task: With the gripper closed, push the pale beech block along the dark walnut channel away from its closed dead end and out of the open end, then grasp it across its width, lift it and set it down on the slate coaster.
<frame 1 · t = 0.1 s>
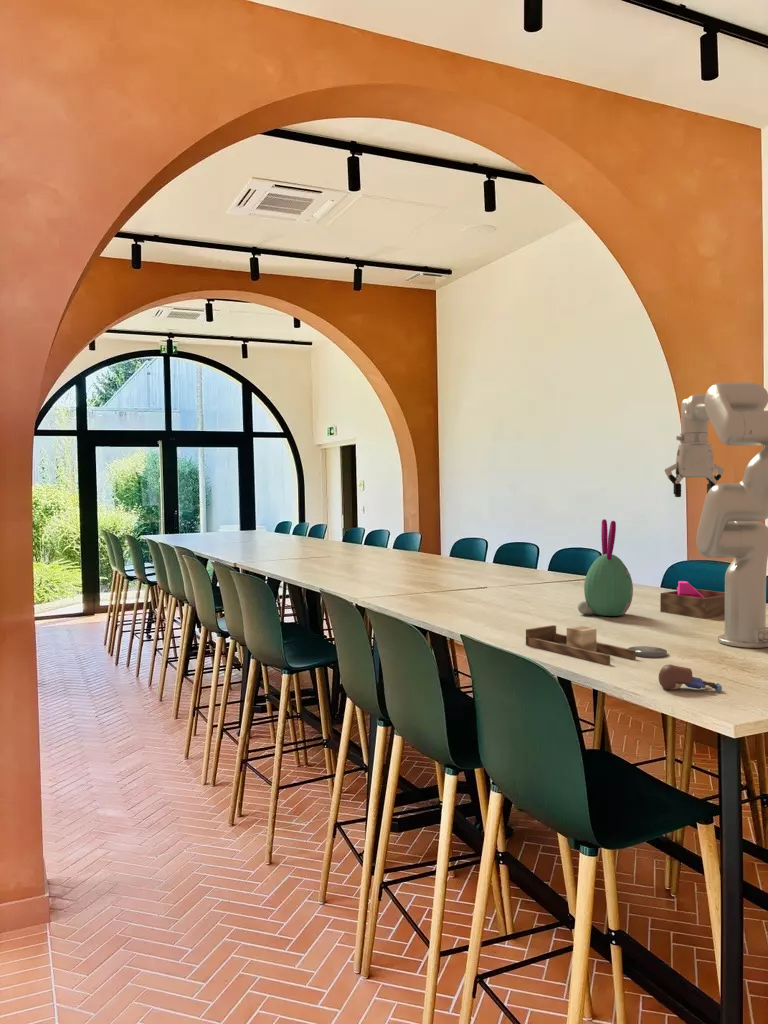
hand: (694, 496, 221), 37 cm above the table, tool pointing down, fingers open, 9 cm apart
toy: (604, 615, 234), on the table
coaster: (647, 653, 179), on the table
channel: (578, 651, 182), on the table
bracket: (698, 614, 237), resting in display box
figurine: (689, 691, 147), on the table
display box: (698, 612, 237), on the table
block: (581, 652, 181), on the table
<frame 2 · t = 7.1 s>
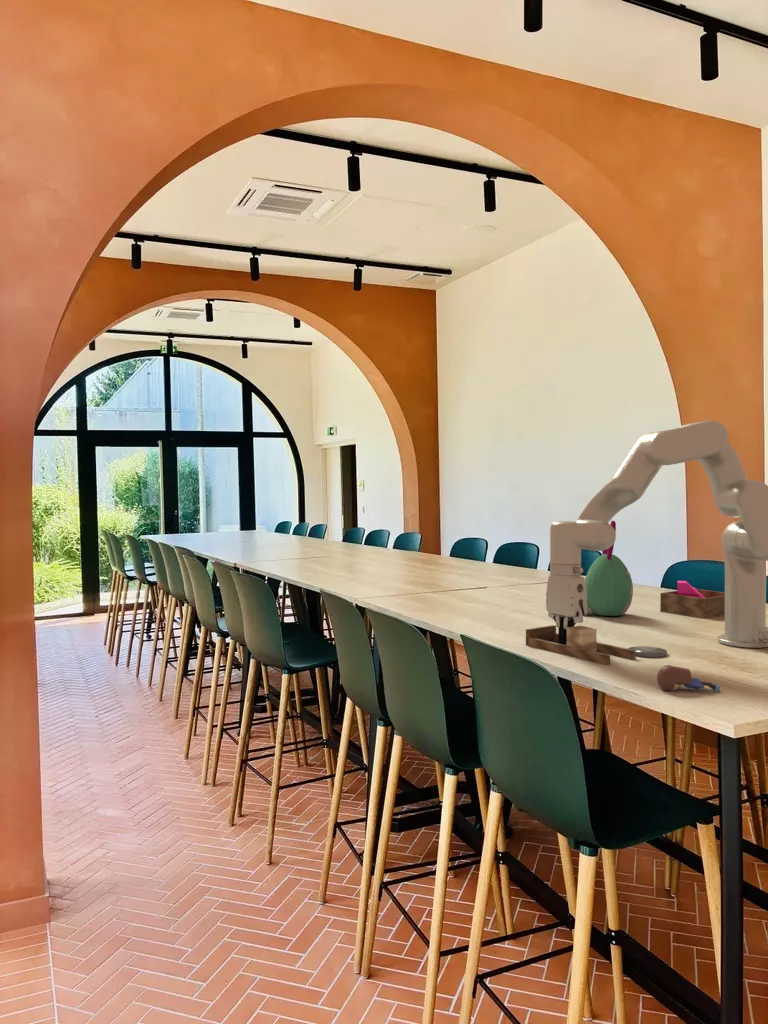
hand: (565, 643, 185), 1 cm above the table, tool pointing down, fingers closed
block: (581, 652, 181), on the table, touching gripper
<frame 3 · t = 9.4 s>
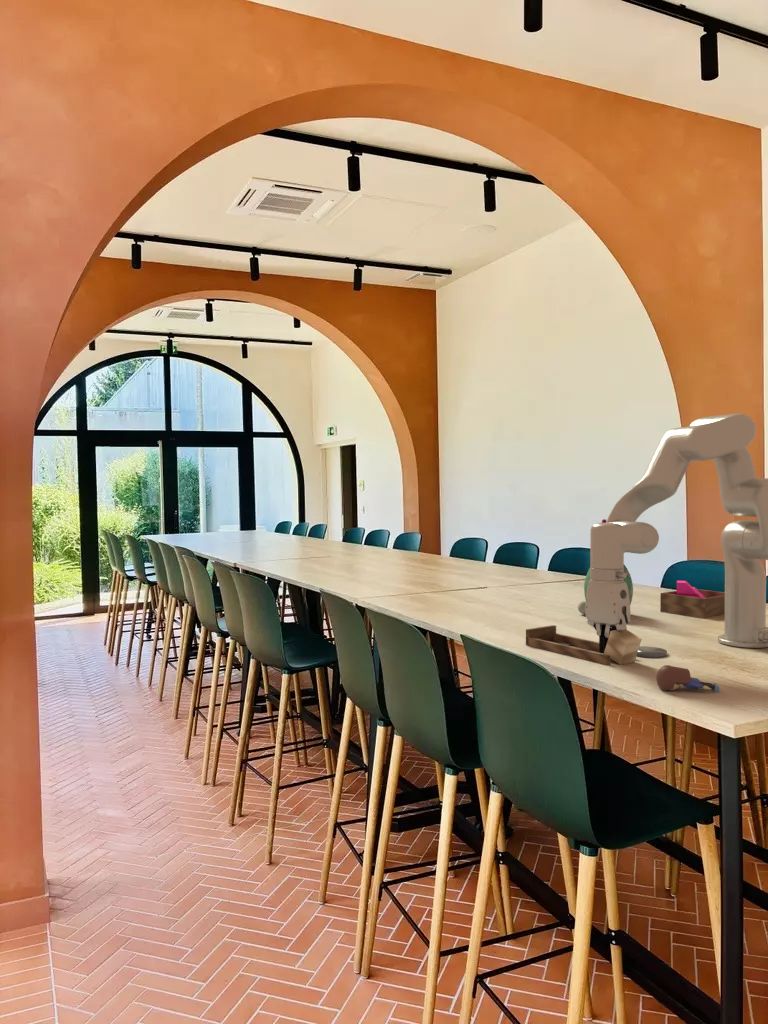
hand: (606, 652, 174), 1 cm above the table, tool pointing down, fingers closed
block: (619, 657, 171), point 1 cm above the table, tilted 19°, touching gripper
everything else where it was.
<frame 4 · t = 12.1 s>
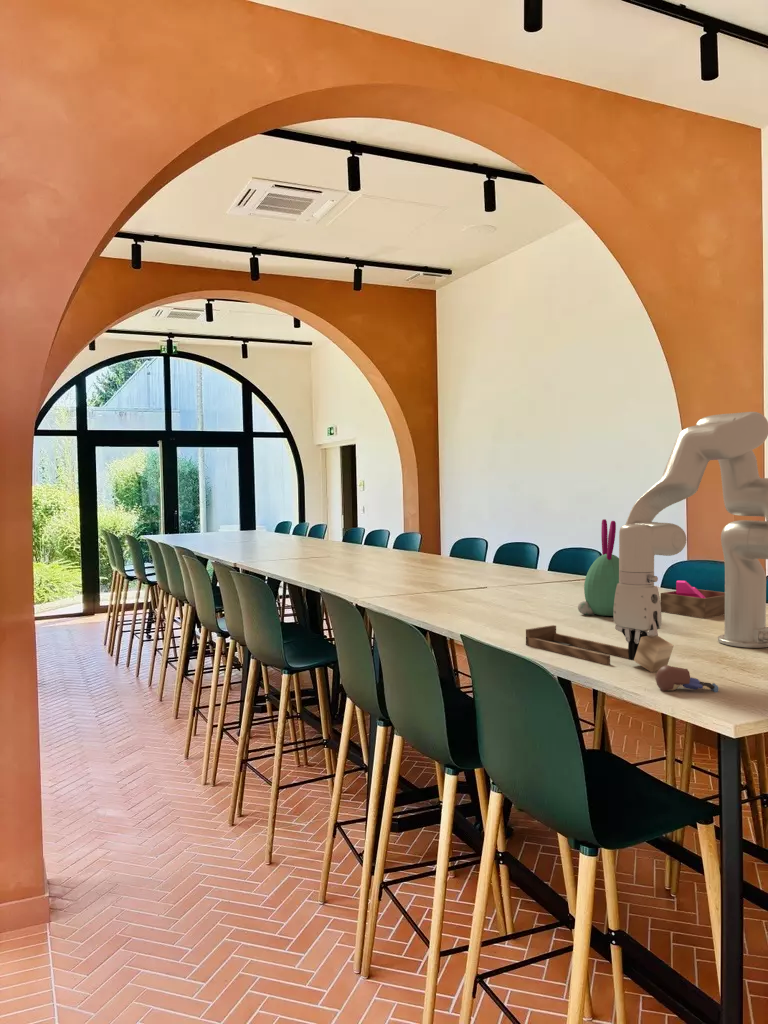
hand: (635, 659, 168), 1 cm above the table, tool pointing down, fingers closed
block: (649, 664, 164), point 1 cm above the table, tilted 19°, touching gripper
everything else where it was.
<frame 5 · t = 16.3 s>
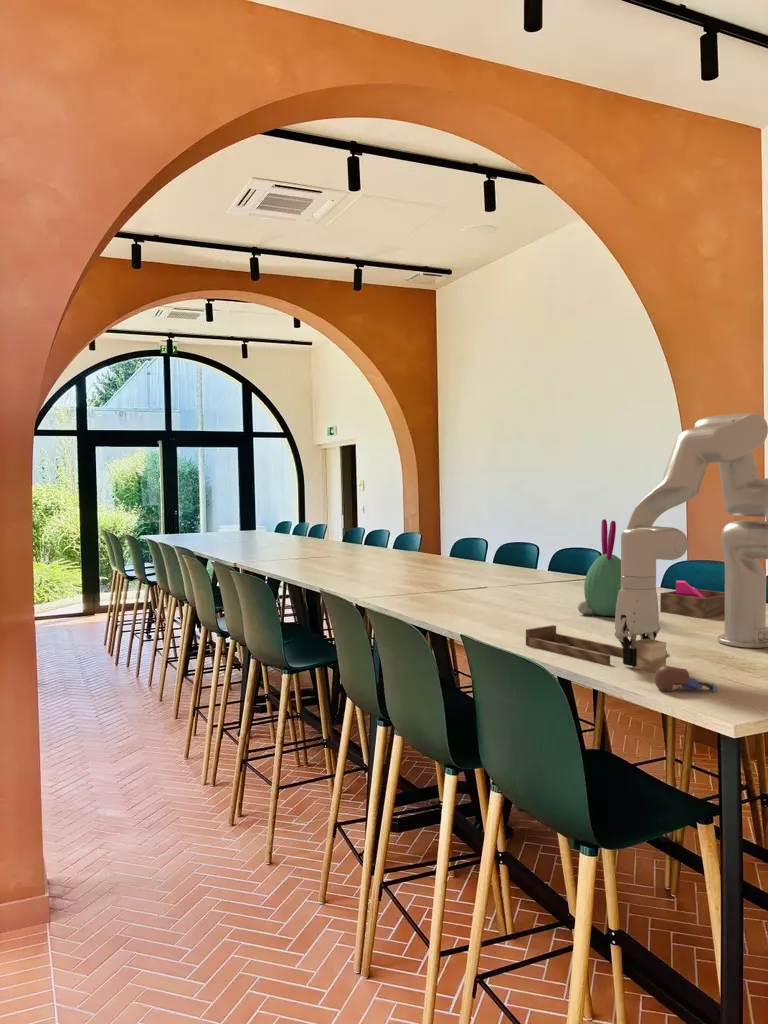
hand: (637, 662, 167), 1 cm above the table, tool pointing down, fingers closed on block, 5 cm apart
block: (649, 668, 165), on the table, touching gripper
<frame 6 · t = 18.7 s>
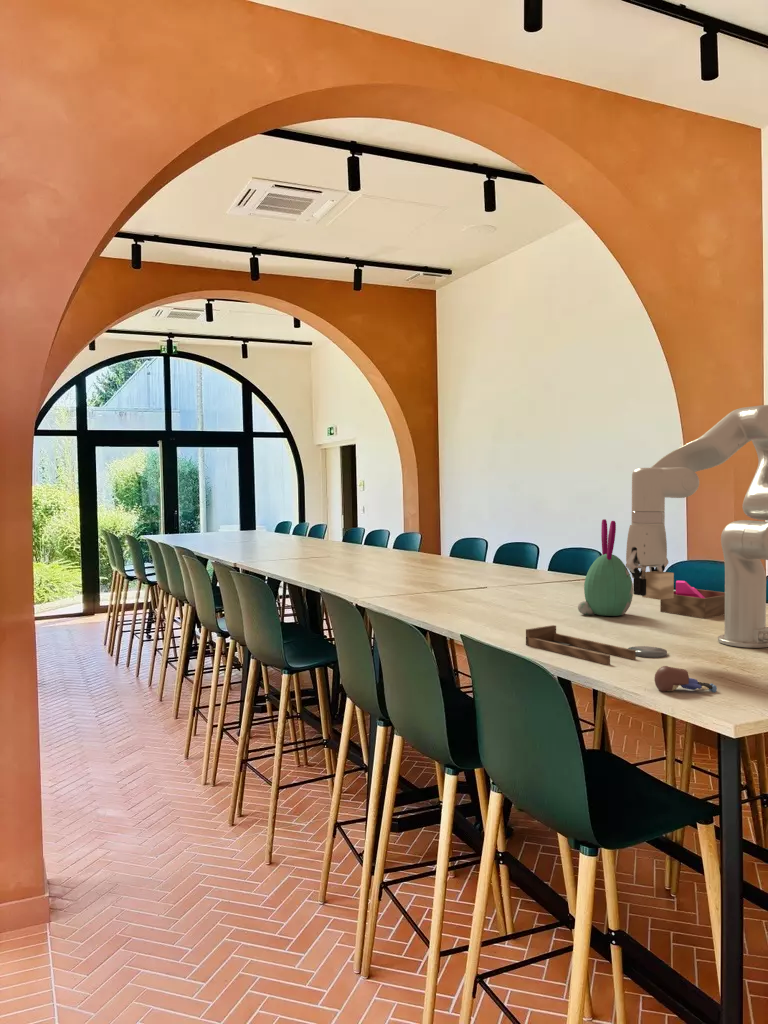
hand: (647, 593, 179), 15 cm above the table, tool pointing down, fingers closed on block, 5 cm apart
block: (657, 597, 176), point 14 cm above the table, touching gripper
when the fingers open (3 cm above the table, at t = 21.1 s): block drops 1 cm, resting on coaster.
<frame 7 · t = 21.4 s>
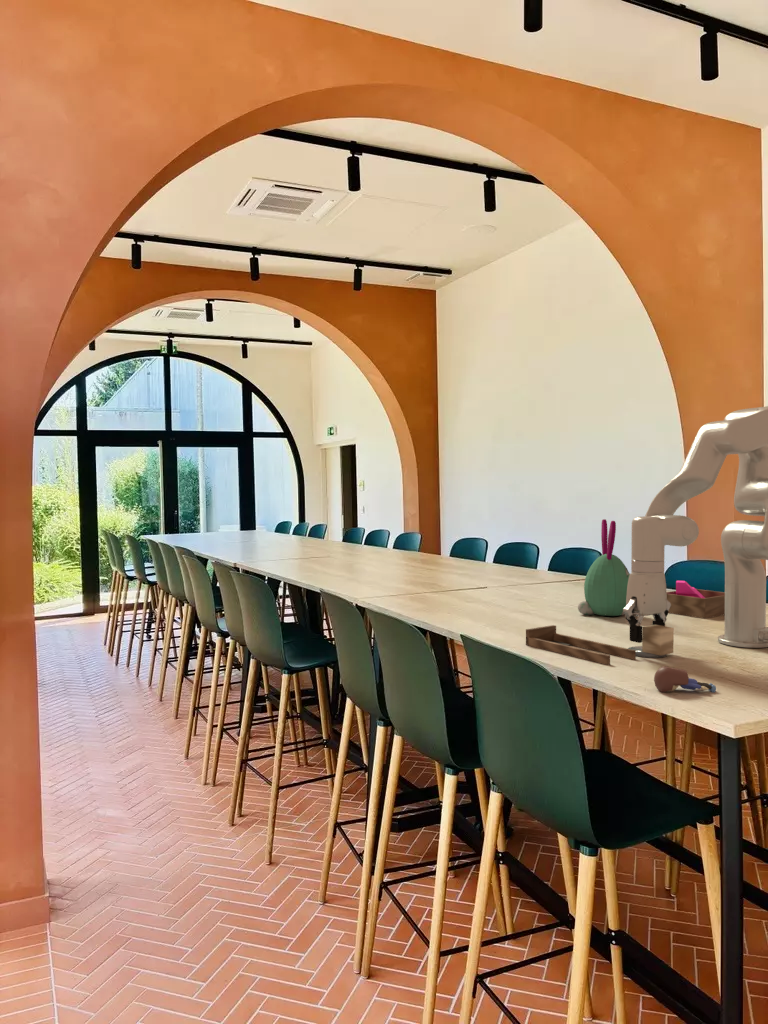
hand: (647, 639, 179), 3 cm above the table, tool pointing down, fingers open, 8 cm apart
block: (657, 652, 177), point 1 cm above the table, touching coaster
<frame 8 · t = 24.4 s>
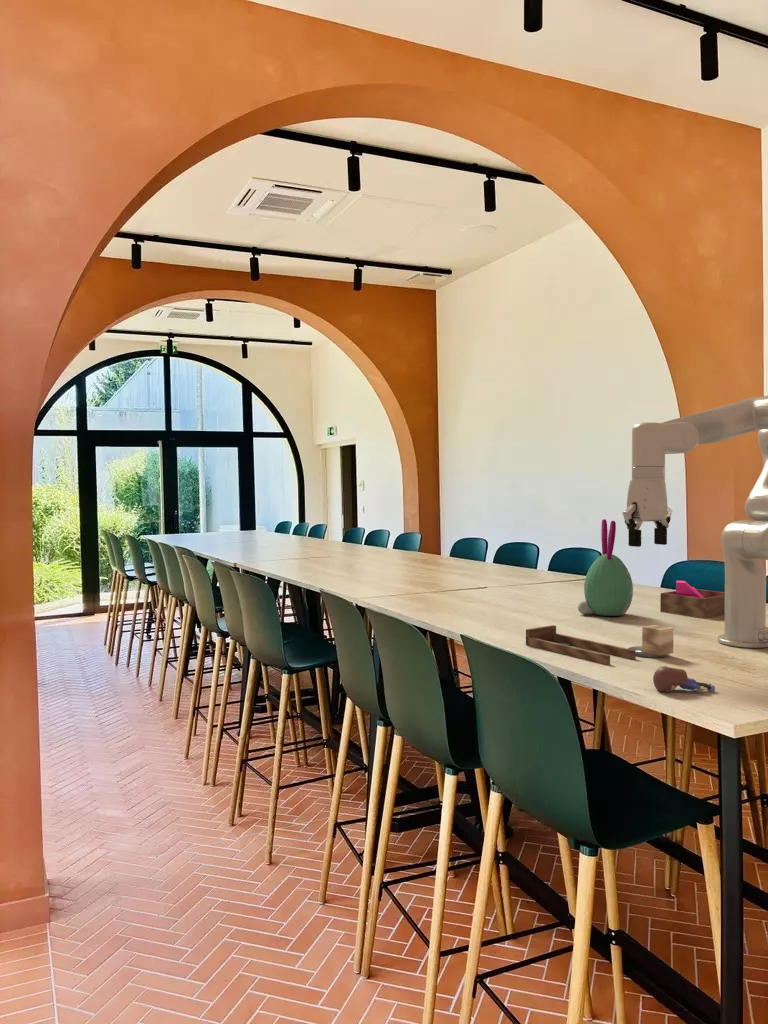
hand: (647, 545, 178), 26 cm above the table, tool pointing down, fingers open, 9 cm apart
at the end: block 2.9 cm from the coaster (horizontally); block point 0.8 cm above the table; the gripper is holding nothing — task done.
